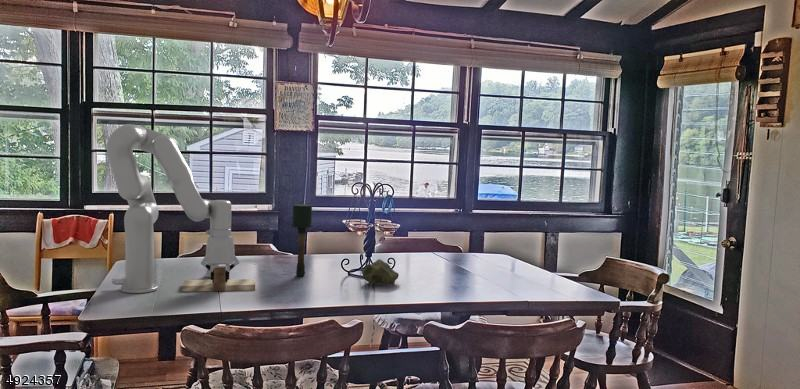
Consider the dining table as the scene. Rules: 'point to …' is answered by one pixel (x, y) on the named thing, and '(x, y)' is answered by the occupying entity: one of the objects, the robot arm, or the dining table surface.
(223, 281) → the brown wooden block
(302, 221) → the potato masher grenade
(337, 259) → the dining table surface
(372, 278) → the decorative rock
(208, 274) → the flask
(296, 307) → the dining table surface
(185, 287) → the board
